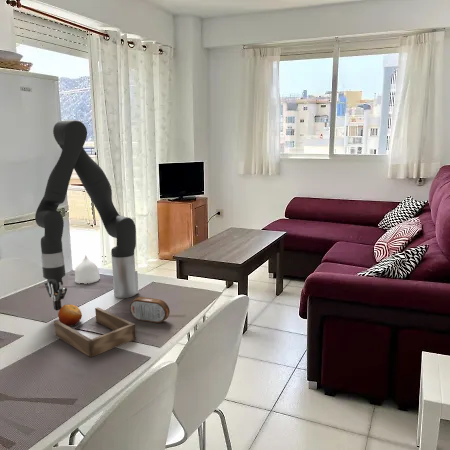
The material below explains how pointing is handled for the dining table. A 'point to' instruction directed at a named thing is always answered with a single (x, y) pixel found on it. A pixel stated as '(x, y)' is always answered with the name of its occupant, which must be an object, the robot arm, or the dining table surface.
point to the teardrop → (86, 271)
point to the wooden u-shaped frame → (95, 346)
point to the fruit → (69, 315)
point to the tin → (149, 309)
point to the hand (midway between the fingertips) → (57, 309)
